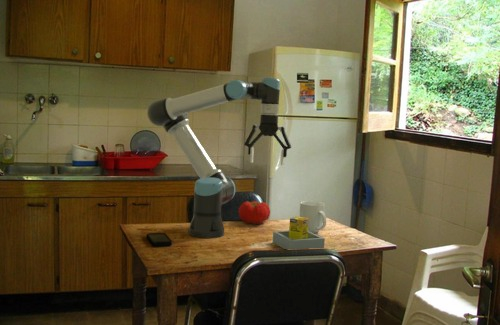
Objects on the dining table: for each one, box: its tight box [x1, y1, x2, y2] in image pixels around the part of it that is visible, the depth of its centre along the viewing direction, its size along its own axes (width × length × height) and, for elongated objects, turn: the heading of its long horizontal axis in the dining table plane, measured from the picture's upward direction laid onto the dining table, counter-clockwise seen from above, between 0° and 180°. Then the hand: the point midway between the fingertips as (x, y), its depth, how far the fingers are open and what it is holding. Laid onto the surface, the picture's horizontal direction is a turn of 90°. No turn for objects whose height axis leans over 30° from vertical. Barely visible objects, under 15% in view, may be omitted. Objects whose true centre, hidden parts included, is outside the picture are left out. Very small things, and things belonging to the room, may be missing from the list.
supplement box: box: [288, 215, 309, 240], centre depth 222 cm, size 6×6×11 cm
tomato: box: [238, 200, 271, 225], centre depth 262 cm, size 14×16×10 cm
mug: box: [299, 200, 327, 234], centre depth 247 cm, size 15×11×13 cm
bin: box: [272, 230, 326, 250], centre depth 223 cm, size 15×15×5 cm
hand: (266, 163), depth 238 cm, fingers open, 13 cm apart
